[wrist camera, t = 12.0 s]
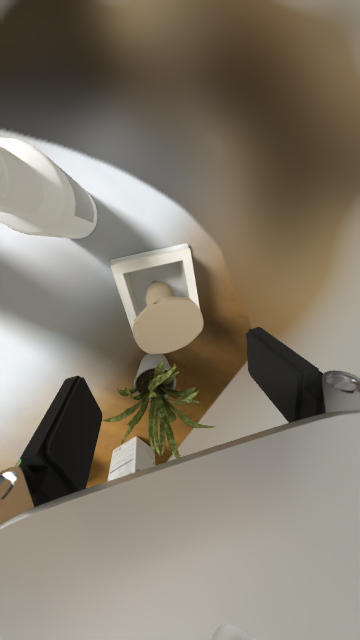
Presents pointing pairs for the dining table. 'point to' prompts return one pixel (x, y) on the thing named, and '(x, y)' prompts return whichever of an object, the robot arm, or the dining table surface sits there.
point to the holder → (153, 276)
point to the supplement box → (131, 458)
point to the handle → (166, 321)
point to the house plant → (157, 400)
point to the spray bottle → (41, 195)
